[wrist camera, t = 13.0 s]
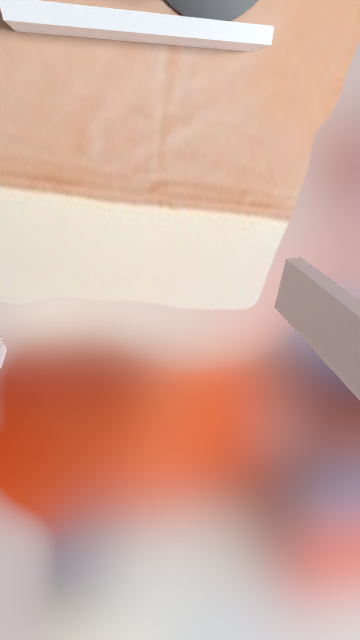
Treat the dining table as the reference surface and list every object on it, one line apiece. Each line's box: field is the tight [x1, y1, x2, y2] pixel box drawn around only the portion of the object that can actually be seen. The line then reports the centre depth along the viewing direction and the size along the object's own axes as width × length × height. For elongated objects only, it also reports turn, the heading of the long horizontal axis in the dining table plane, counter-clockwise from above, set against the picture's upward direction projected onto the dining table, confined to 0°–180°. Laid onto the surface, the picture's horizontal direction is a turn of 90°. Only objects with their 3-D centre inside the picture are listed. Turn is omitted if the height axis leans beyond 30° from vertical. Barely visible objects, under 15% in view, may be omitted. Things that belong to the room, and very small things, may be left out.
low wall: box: [0, 0, 274, 52], centre depth 24 cm, size 22×1×4 cm, turn 88°
